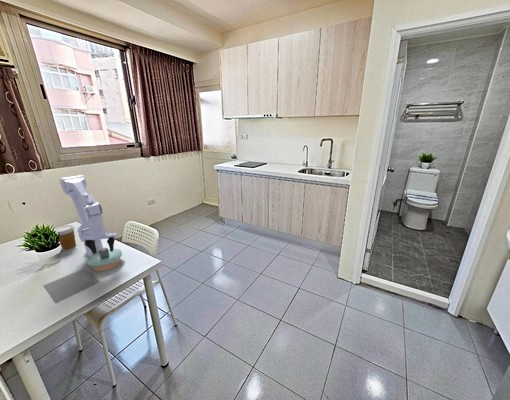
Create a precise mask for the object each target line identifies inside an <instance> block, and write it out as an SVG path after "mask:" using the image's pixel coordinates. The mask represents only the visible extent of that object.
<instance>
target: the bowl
mask: <svg viewBox="0 0 510 400" xmlns="http://www.w3.org/2000/svg"><path fill="white" fill-rule="evenodd" d="M119 263H121V257H120V258H119V259H118V260H116V261H114V262H112V263H110V264H107V265H104V266H97V267H93V266H91V268H92V269H93V270H94V271H96V272H102V271H107V270H110V269H112V268H114V267H117V265H119Z"/></svg>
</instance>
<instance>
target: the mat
mask: <svg viewBox="0 0 510 400" xmlns="http://www.w3.org/2000/svg"><path fill="white" fill-rule="evenodd" d="M98 283H101V281H100V280H99V279H98V278H96V276H95V275H94V274H92V273H91V271H89V270H88V269H87V268H86V267H84V268H81V269H79V270H77V271H74V272H72V273H69V274H67V275H64V276H63V277H60V278H58V279H56V280H54V281H51V282H47V283H46V284H44V285H43V287H44V288H45V291H46V292H47V293H48V295H49V296H50V297H51V299H52V300H53V302H54V303H55V304H58V303H60V302H62V301H64V300H66V299H69V298H70V297H72V296H74V295H76V294H79V293H80V292H82V291H84V290H87V289H88V288H91V287H93V286H95V285H96V284H98Z"/></svg>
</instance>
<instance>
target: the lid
mask: <svg viewBox="0 0 510 400" xmlns="http://www.w3.org/2000/svg"><path fill="white" fill-rule="evenodd" d="M122 256H123V252H122V250H121V249H117V248H114V250H113V251H112V252H111V251H110V248H108V247H103V248H102V249H100V250H99V252H98V253H96V254H94V255H92V256H91V257H89V258H88V259H87V260H86V263H87V265H88V266H89V267H92V266H93V267H97V266H104V265H107V264H110V263H112V262H114V261H116V260H118V259H119V258H120V259H121V257H122Z"/></svg>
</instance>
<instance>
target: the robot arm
mask: <svg viewBox="0 0 510 400" xmlns="http://www.w3.org/2000/svg"><path fill="white" fill-rule="evenodd" d="M59 182H60V186H61V189H62V191H63V193H64V194H65V195H67V196H70V198H71V199H72V202H73V204H74V207H75V209H76V213H77V215H78V217H79V220H80V223H81V224H80V225H79V226H78V228H77V233H78V237H79V240H80V241H81V242H82V243H83V245H84V249H85V252H84V255H86V256H87V257H89V258H90V257H91V256H92V255H94V254H96V253H98V252H99V250H100V249H102V248H104V245H103V242H102V240H106V243H107V244H108V247H109V248H108V249H110V251H111V252H112V251H113V250H114V249H115V248H114V245H115V240H116V239H117V237H118V233H117V232H106V228H105V224H104V220H103V219H104V218H103V215H102V214H103V208H102V205H101V204H100V203H99V202H98V201H96V200H95V199H94V197H93V196H92V194H90V193H88V192H87V190H86V189H87V180H86V177H85V176H84V175H83V174H80V175H73V176H67V177H60V179H59Z"/></svg>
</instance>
